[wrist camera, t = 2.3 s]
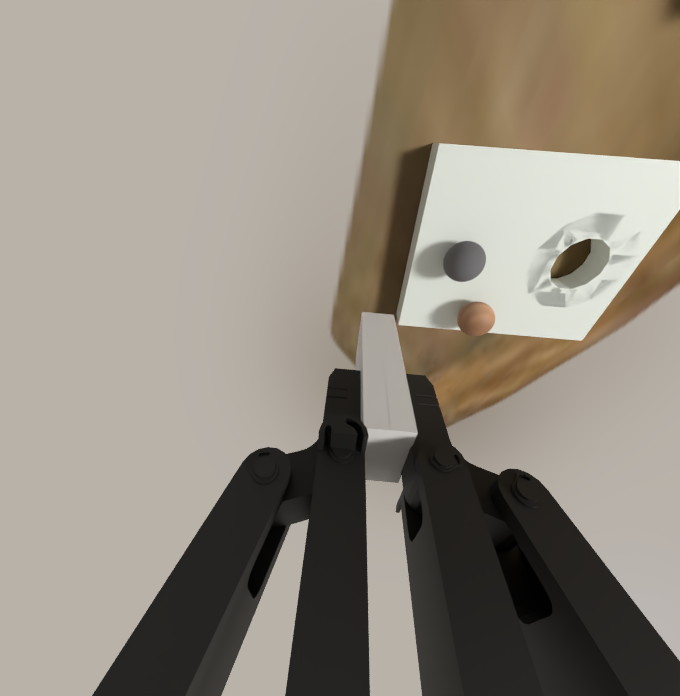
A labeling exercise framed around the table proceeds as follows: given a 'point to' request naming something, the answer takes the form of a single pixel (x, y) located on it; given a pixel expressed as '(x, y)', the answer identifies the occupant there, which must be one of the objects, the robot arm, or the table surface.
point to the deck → (533, 234)
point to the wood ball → (476, 318)
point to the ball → (464, 261)
